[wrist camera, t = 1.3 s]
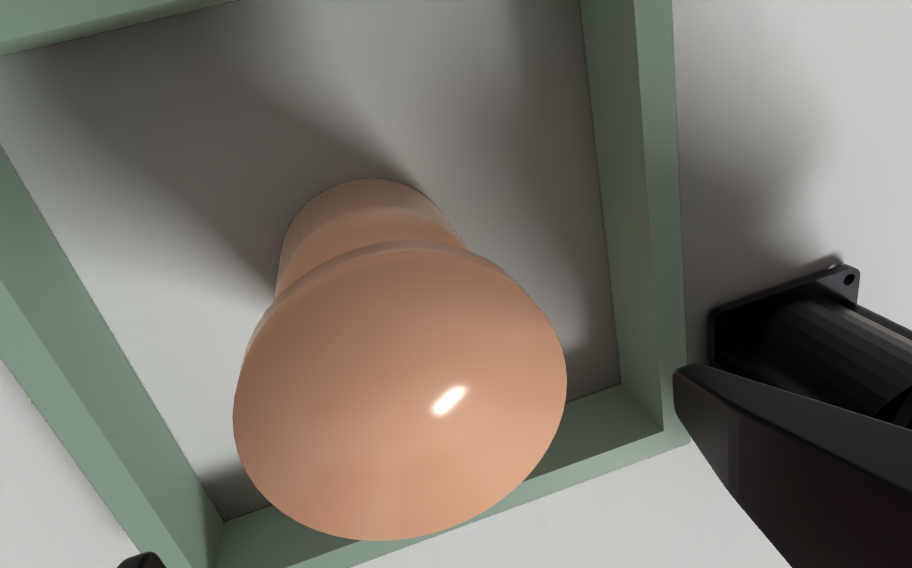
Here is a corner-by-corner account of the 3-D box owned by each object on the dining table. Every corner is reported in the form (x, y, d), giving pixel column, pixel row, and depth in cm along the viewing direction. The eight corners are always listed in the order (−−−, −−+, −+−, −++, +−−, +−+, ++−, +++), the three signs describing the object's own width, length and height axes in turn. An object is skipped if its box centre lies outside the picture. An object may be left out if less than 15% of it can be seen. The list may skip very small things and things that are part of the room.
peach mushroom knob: (443, 140, 17) (541, 214, 10) (485, 318, 19) (584, 478, 12) (233, 199, 16) (168, 326, 9) (307, 376, 19) (304, 581, 12)
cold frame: (600, -132, 15) (664, -170, 12) (646, 395, 23) (690, 442, 20) (-119, 32, 13) (-234, 30, 10) (207, 549, 21) (192, 625, 18)
